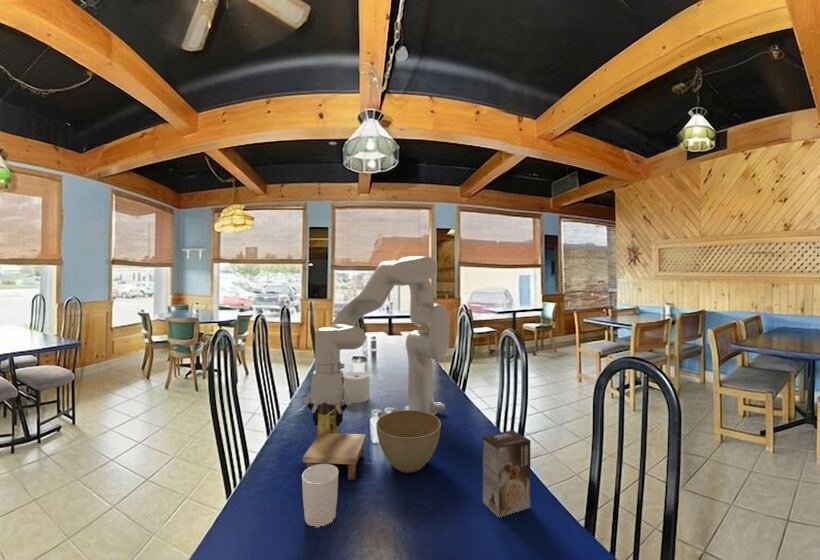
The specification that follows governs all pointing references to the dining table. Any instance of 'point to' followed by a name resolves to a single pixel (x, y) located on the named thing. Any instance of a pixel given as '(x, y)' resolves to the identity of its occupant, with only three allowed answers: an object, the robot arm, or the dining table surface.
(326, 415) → the sauce bottle
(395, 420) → the tan bowl
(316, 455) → the footstool
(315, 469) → the white cup
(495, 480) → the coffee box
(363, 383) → the toilet tissue
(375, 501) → the dining table surface
